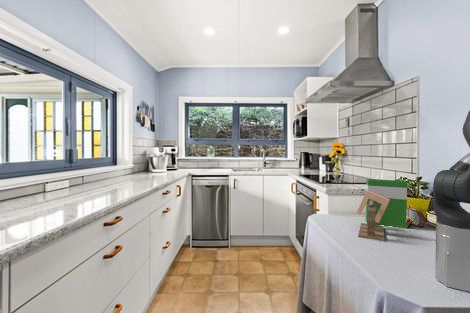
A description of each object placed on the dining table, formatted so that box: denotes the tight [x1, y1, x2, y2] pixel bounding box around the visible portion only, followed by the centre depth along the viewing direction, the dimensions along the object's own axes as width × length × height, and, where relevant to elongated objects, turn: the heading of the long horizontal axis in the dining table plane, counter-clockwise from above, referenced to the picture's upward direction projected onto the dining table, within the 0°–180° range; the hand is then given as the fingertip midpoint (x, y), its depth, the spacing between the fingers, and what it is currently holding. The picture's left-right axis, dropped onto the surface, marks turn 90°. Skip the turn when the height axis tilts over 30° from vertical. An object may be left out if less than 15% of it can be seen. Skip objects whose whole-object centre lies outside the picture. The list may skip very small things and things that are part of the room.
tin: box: [407, 207, 426, 227], centre depth 128 cm, size 15×3×8 cm, turn 168°
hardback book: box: [365, 178, 408, 229], centre depth 126 cm, size 18×7×24 cm, turn 66°
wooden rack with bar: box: [357, 199, 385, 242], centre depth 113 cm, size 21×10×16 cm, turn 149°
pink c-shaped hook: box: [356, 190, 390, 223], centre depth 112 cm, size 3×10×12 cm, turn 57°
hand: (434, 196), depth 93 cm, fingers open, 8 cm apart
